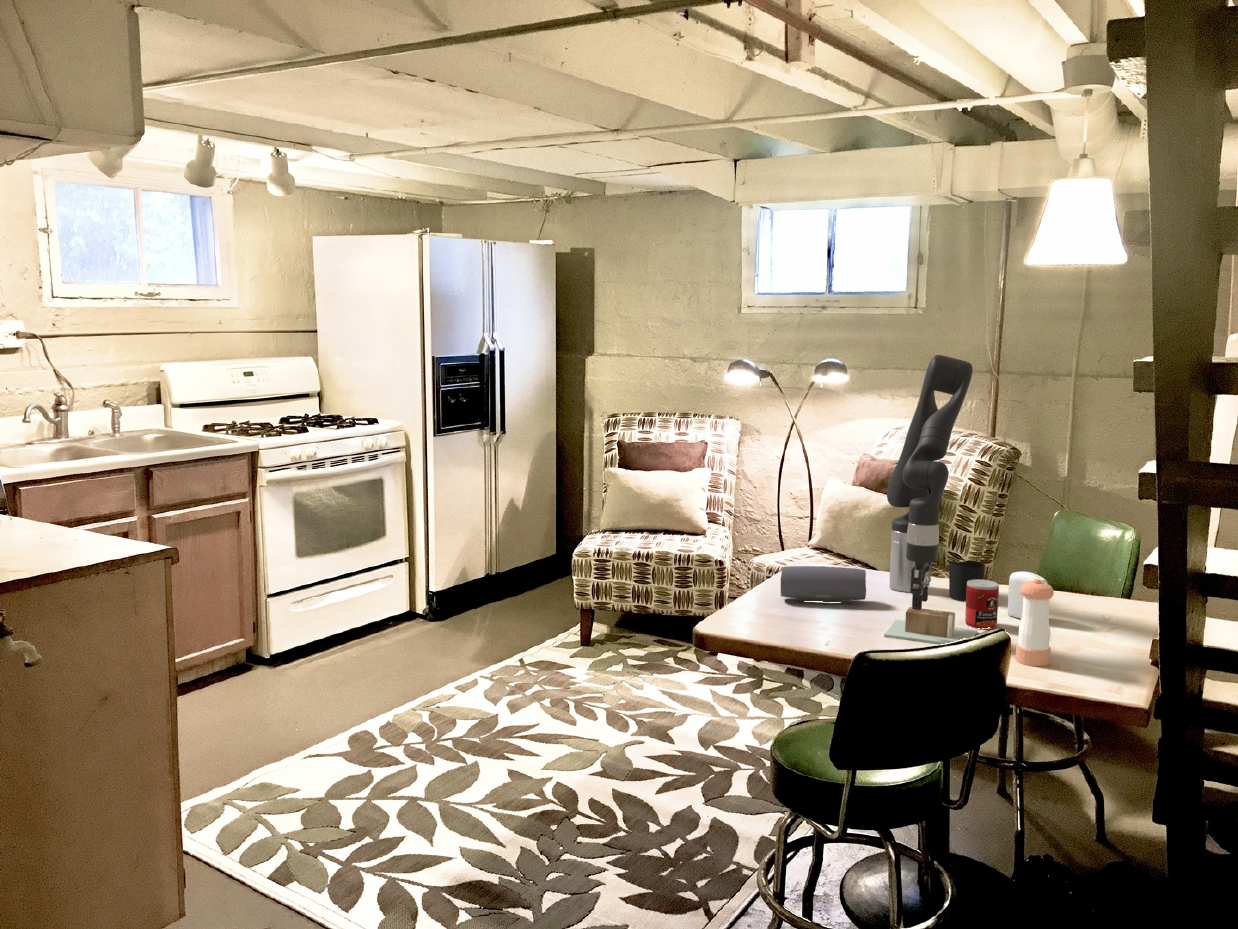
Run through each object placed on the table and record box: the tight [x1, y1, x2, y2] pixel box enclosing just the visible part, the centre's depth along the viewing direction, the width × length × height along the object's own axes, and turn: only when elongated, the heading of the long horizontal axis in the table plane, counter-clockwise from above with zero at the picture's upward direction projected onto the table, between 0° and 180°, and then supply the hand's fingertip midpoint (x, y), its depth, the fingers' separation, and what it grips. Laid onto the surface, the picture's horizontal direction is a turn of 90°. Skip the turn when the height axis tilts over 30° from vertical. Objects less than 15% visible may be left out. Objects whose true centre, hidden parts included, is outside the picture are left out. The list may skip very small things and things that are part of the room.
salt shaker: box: [1015, 579, 1055, 667], centre depth 224 cm, size 7×7×19 cm
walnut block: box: [904, 606, 956, 638], centre depth 244 cm, size 5×5×11 cm
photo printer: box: [1007, 571, 1049, 620], centre depth 257 cm, size 10×4×12 cm, turn 29°
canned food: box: [964, 579, 1000, 630], centre depth 252 cm, size 8×8×11 cm
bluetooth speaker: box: [780, 565, 867, 603], centre depth 273 cm, size 23×9×10 cm, turn 82°
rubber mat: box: [883, 619, 978, 645], centre depth 244 cm, size 14×20×1 cm
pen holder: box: [948, 559, 986, 602], centre depth 277 cm, size 9×9×10 cm
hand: (919, 605), depth 245 cm, fingers open, 8 cm apart
